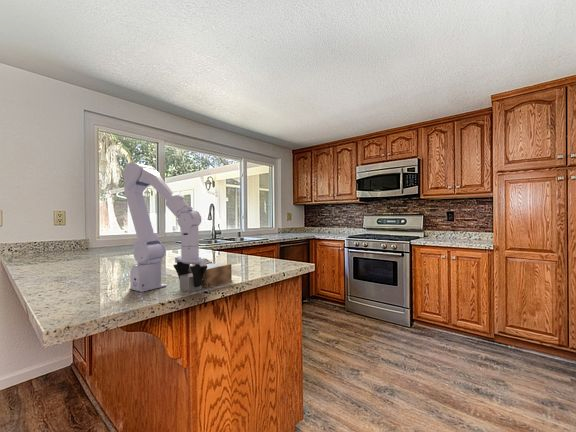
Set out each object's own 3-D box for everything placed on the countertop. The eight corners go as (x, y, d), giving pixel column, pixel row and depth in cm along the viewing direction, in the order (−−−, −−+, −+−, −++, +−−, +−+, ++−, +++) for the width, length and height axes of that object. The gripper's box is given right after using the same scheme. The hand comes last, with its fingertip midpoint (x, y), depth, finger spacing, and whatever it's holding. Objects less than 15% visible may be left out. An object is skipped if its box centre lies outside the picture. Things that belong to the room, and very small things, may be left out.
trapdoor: (203, 274, 101) (203, 268, 101) (187, 271, 106) (187, 266, 106) (226, 268, 111) (226, 264, 111) (210, 266, 116) (210, 262, 116)
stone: (189, 292, 95) (188, 277, 95) (179, 290, 98) (179, 275, 98) (201, 288, 99) (201, 274, 99) (192, 287, 102) (191, 273, 102)
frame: (206, 287, 101) (206, 269, 101) (185, 283, 107) (185, 266, 107) (231, 280, 111) (231, 264, 110) (210, 277, 117) (210, 261, 117)
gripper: (213, 245, 98) (213, 285, 98) (186, 243, 106) (187, 280, 106) (196, 247, 92) (196, 290, 92) (169, 245, 100) (170, 284, 100)
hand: (190, 285), depth 99 cm, fingers open, 7 cm apart
